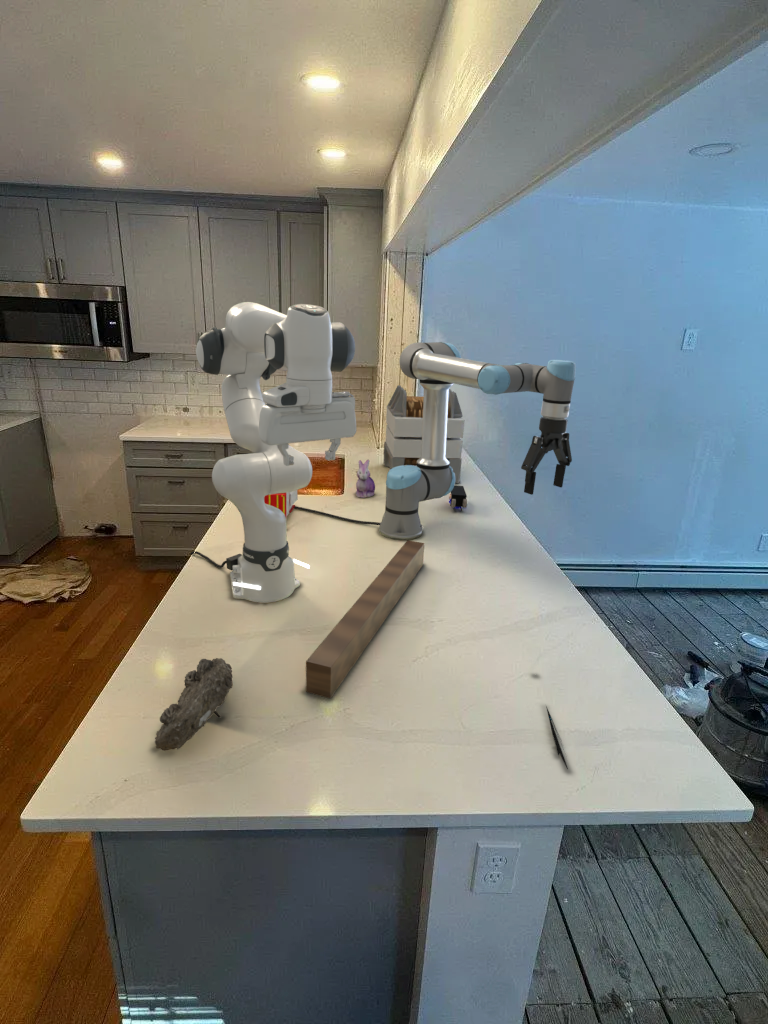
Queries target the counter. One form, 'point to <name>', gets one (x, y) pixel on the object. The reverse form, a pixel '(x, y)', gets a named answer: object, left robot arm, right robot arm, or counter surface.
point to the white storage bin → (419, 431)
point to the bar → (361, 622)
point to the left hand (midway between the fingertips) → (309, 462)
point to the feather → (556, 737)
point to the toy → (282, 501)
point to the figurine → (364, 481)
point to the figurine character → (458, 498)
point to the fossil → (195, 703)
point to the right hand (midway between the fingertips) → (543, 489)
